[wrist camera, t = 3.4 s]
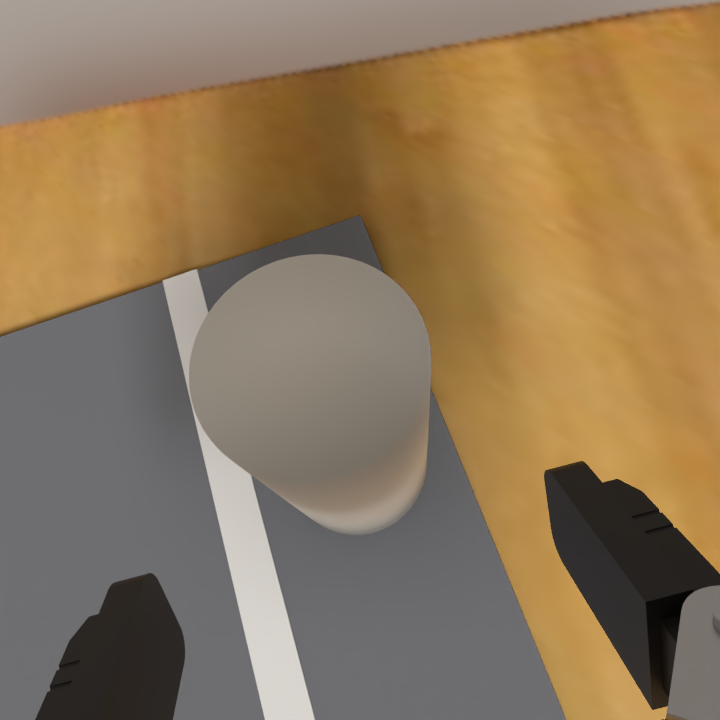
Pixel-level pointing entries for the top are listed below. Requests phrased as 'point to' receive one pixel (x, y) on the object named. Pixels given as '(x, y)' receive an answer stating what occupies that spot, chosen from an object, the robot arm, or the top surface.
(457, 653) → the gray striped mat
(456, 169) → the top surface
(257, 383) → the white cylinder
